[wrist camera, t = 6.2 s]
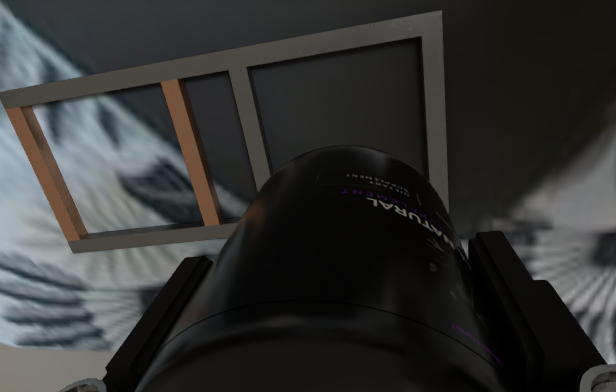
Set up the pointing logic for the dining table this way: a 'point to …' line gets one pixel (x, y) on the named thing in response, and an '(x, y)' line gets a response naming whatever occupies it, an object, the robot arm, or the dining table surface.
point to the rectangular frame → (249, 112)
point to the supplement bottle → (337, 291)
